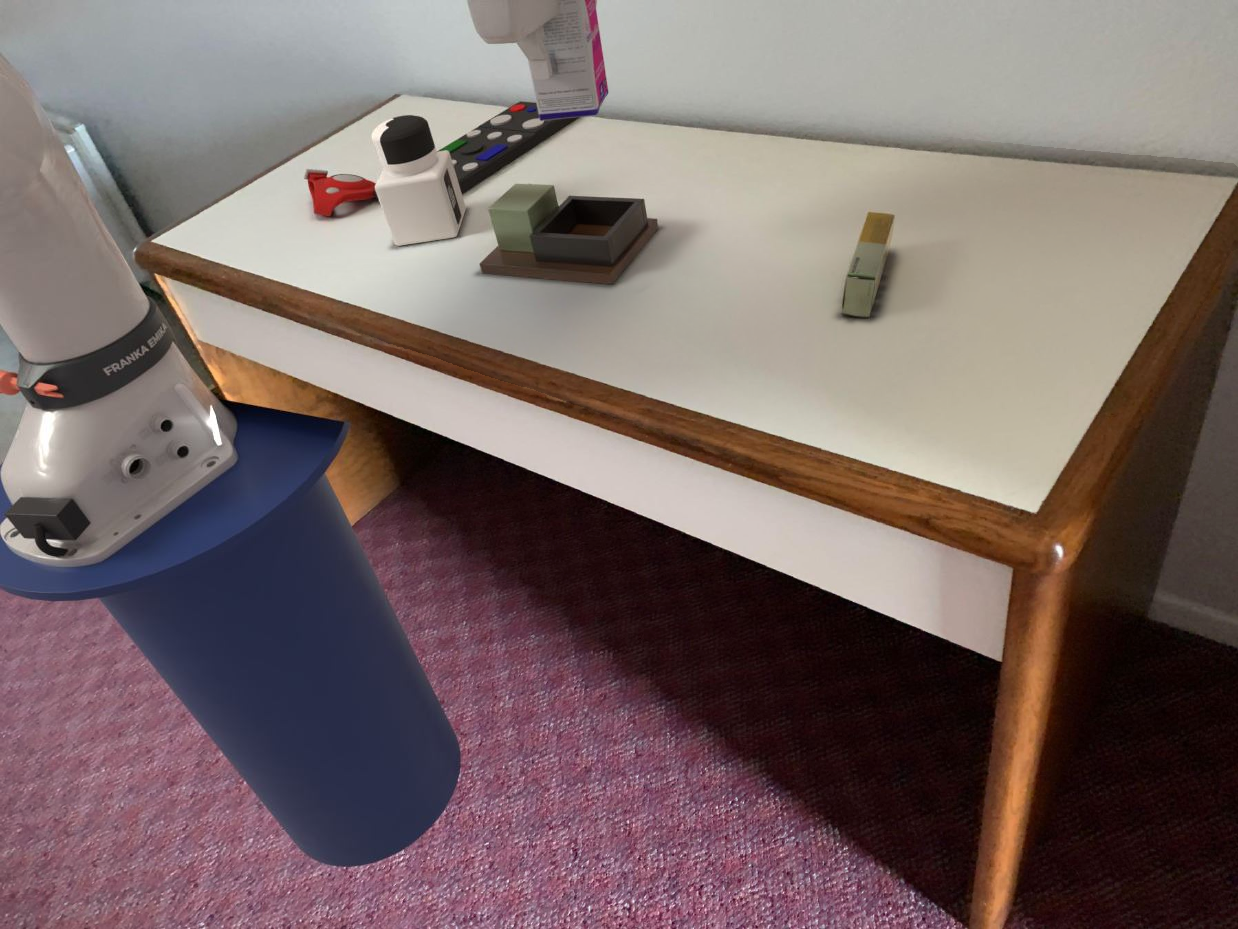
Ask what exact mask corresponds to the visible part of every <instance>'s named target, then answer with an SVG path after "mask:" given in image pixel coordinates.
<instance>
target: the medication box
mask: <svg viewBox="0 0 1238 929" xmlns="http://www.w3.org/2000/svg"><path fill="white" fill-rule="evenodd" d="M895 216H896V215H895V214H891V213H885V212H875V211H868V212H867V213H866V216H865V220H864V222H863V226H862V228H861V231H860V234H859V238H858V240H857V243H856V247H855V249H854V253H853V256H852V258H851V261H850V264H849V267H848V270H847V273H846V277H845V280H844V281H845V282H844V287H843V296H842V302H841V311H840V313H841V315H843V316H847V317H854V318H859V319H860V318H861V319H869V318H870V317H871V312H872V308H873V306H874V302H875V300H876V296H877V292H878V289H879V285H880V282H881V278H882V275H883V271H884V268H885V264H886V261H887V258H888V254H889V250H890V247H891V243H892V240H893V239H892V237H893V233H894V232H893V231H894V226H895V219H896V218H895Z"/></svg>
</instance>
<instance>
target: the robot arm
mask: <svg viewBox="0 0 1238 929" xmlns="http://www.w3.org/2000/svg"><path fill="white" fill-rule="evenodd" d="M466 2H467V7H468V10H469V14H470V17H471V19H472V20H471V21H472V23H473V28H474V29H475V31H476V33H477V35H479V37H480V38H481V39H482V40H483V42H485V43H486V44H488V45H489V44H490V45H502V44H503V45H504V44H505V45H506V44H516V45H517V46H518V47H519V49H520V51H522V53H523V54H524V56H525V57H526V59H527V61H528V60H529V61H530V66H531V70H532V74H533V77H534V79H536V80H548V79H550V78H551V77H552V76H554V75H555V74H556V73H557V71H558V69H557V66H556V59H555V54H549V53H548V51H547V49H546V47H545V45H544V43H543V41H542V39H543V38H545V33H544V28H543V25H544V24H545V23H547V22H548V21H549V20H551V19H552V18H554V17H555V16H557V15H558V14H559V2H558V0H466ZM597 4H598V0H595V5H596V6H597ZM0 326H1V328H3V330H4V332H5V333H6V335H7V336H8V338H9V339H10V341H11V342H12V343H13V345H14V347H16V349H17V350H18V363H19V368H18V372H13V371H8V370H4V369H0V394H4V395H6V396H15V395H17V394H19V393H21V395H22V396H23V397H24V398H25V400H26V402H27V404H26V406H25V409H24V412H23V414H22V417H21V420H20V422H19V425H18V427H17V430H16V432H15V435H14V436H13V440H12V442H11V443H10V447H9V450H8V451H7V454H6V456H5V459H4V460H3V462H4V463H3V462H2V463H3V465H2V467H1V480H2V484H3V487H4V489H5V492H6V494H7V496H8V498H9V500H10V502H11V504H12V506H11V507H10V508H9V509H8V510H7V512H6V513H5V514H4V515H5V516H6V517H7V518H6V519H5V520H4V521H3V522H2V524H1V525H0V534H1V537H2V539H3V540H4V542H5V543H6V545H7V546H8V548H9V549H10V550H11V551H13V552H14V553H15V554H17V555H18V556H20V557H22V558H24V559H27V560H30V561H32V562H35V563H39V564H43V565H47V566H53V567H81V566H87V565H92V564H96V563H100V562H102V561H104V560H105V559H107V558H108V557H110V556H111V555H113V554H114V553H115V552H117V551H118V550H119V549H121V548H122V547H124V546H125V545H126V544H128V543H129V542H130V541H132V540H133V539H134V538H136V537H137V536H139V535H140V534H141V533H143V532H144V531H145V530H147V529H148V528H149V527H151V526H152V525H154V524H155V523H156V522H158V521H159V520H160V519H162V518H163V517H164V516H166V515H167V514H168V513H170V512H171V511H173V510H174V509H175V508H177V507H178V506H179V505H181V504H182V503H183V502H185V501H186V500H188V499H189V498H190V497H192V496H193V495H194V494H196V493H197V492H198V491H200V490H201V489H202V488H204V487H205V486H207V485H208V484H209V483H211V482H212V481H213V480H215V479H216V478H217V477H219V476H220V475H222V474H223V473H224V472H226V471H227V470H228V469H230V468H231V467H232V466H233V465H234V464H235V463H236V462H237V460H238V454H237V451H236V449H235V447H234V439H235V435H236V432H237V420H236V417H235V415H234V414H233V413H232V412H231V411H230V410H229V409H228V408H227V407H226V406H225V405H224V404H222V403H221V402H220V401H219V400H218V399H219V398H218V399H217V397H216V395H215V394H214V393H213V392H212V391H211V390H210V389H209V388H208V386H207V385H206V384H205V383H204V381H203V380H202V379H201V378H200V376H199V375H198V374H197V373H196V372H195V370H194V368H192V366H191V365H190V364H189V362H188V361H187V359H186V358H185V356H184V355H183V354H182V352H181V351H180V349H179V348H178V342H177V339H176V336H175V334H174V331H173V330H172V328H171V326H170V325H169V323H168V320H166V317H165V316H164V313H163V312H162V311H161V310H160V308H159V306H158V305H157V303H156V301H155V299H153V298H152V297H150V296H148V295H146V294H145V292H144V290H143V288H142V286H141V285H140V283H139V281H138V280H137V277H136V276H135V274H134V273H133V270H132V269H131V267H130V265H129V263H128V261H126V259H125V257H124V255H123V253H122V251H121V250H120V248H119V246H118V245H117V243H116V241H115V239H114V237H113V236H112V234H111V232H110V230H109V229H108V227H107V225H106V223H105V221H104V220H103V218H102V215H101V214H100V212H99V210H98V207H96V204H95V202H94V201H93V198H92V196H91V194H90V193H89V191H88V189H87V187H86V185H85V183H84V181H83V179H82V178H81V176H80V174H79V172H78V169H77V168H76V166H75V164H74V162H73V160H72V159H71V156H70V154H69V153H68V151H67V149H66V147H65V145H64V143H63V142H62V140H61V138H60V136H59V134H58V132H57V130H56V129H55V127H54V125H53V124H52V122H51V120H50V117H49V116H48V114H47V112H46V110H45V109H44V107H43V105H42V103H41V101H40V99H39V97H38V96H37V94H36V92H35V91H34V89H33V88H32V86H31V85H30V84H29V82H28V81H27V79H25V77H23V75H22V74H21V73H20V72H19V71H18V70H17V69H16V67H14V66H13V65H12V64H11V62H10V61H9V60H8V59H7V58H6V56H4V54H3V53H2V51H0Z"/></svg>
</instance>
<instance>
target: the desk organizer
mask: <svg viewBox="0 0 1238 929" xmlns="http://www.w3.org/2000/svg"><path fill="white" fill-rule="evenodd" d="M487 210H488V213H489V218H490V221H491V225H492V228H493V231H494V235H495V238H496V242H497V246H496V247H495V248H494V249H493V250H491V252H490V253H488V255H487V256H485V258H484V259H482V260H481V261H480V263H479V267H480V271H481V274H485V275H486V274H487V275H497V276H499V275H500V276H508V277H509V276H510V277H522V278H533V279H542V280H543V279H545V280H556V281H566V282H567V281H568V282H579V283H589V284H591V283H592V284H602V285H613V284H614V283H615V282H616V280H617V279H618V278H619V277H620V276H621V275H622V273H623V272H624V271H625V270H626V269H627V267H628V266H629V265H630V264H631V263H632V261H633V260H634V259H635V258H636V257H637V255H638V254H639V253H640V252H641V250H642V249H643V248H644V247H645V246H646V244H647V243H648V242H649V241H650V239H651V238H652V237H654V235H655V233H656V232H657V231H658V230H659V224H658V218H653V217H652V218H651V217H648V213H647V207H646V202H645V198H635V197H611V196H587V195H568V196H567V197H566V198H565V199H564V200H563V201H562V202H561V203H560V204H559V202H558V197H557V193H556V188H555V185H554V184H541V183H539V184H537V183H514V184H513V185H512V186H511V187H510V188H508V190H506V191H505V192H504V193H502V195H500V197H499V198H497V199H496V200H495V201H494V202H493V203H492V204H491V205H490V206H489V207H488V208H487Z"/></svg>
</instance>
